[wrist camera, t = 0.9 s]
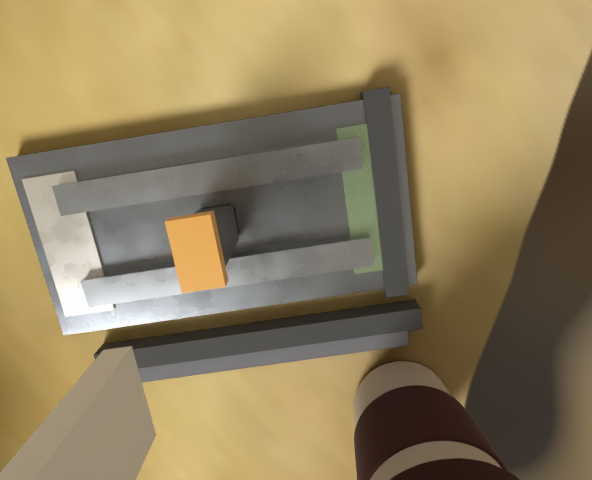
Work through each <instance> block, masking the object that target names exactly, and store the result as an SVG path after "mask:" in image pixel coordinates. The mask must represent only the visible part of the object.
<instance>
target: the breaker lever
mask: <svg viewBox="0 0 592 480" xmlns="http://www.w3.org/2000/svg"><path fill="white" fill-rule="evenodd" d="M165 226H166V230H167V234H168V238H169V242H170V246H171V251H172V255H173V259H174V263H175V267H176V271H177V276H178V280H179V284H180V288H181V292H182V293H188V292H195V291H202V290H208V289H215V288H222V287H226V285H227V283H228V276H227V271H226V265H227V263H228V261H229V259H230V257H231V255H232V253H233V251H234V249H235V247H236V245H237V243H238V240H239V235H238V229H237V224H236V219H235V214H234V209H233V205H226V206H220V207H213V208H207V209H200V210H197V211H196V212H195V213H194V214H189V215H183V216H176V217H170V218H169V219H167V220H166V221H165Z"/></svg>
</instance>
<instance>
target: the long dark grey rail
mask: <svg viewBox="0 0 592 480" xmlns="http://www.w3.org/2000/svg"><path fill="white" fill-rule="evenodd" d="M417 329H423V326H422V315H421V308H420V306H419V305H418V303H417V302H416V300H409V301H402V302H395V303H388V304H381V305H374V306H367V307H360V308H353V309H346V310H339V311H332V312H325V313H318V314H311V315H304V316H297V317H290V318H283V319H276V320H269V321H262V322H255V323H248V324H241V325H234V326H227V327H220V328H213V329H206V330H199V331H192V332H185V333H178V334H171V335H164V336H157V337H150V338H143V339H136V340H129V341H122V342H115V343H108V344H103V345H102V346H101V347H100V348H99V349H98V351H97V352H96V353H95V354H94V358H95V359H96V358H97V357H98V356H99V355H100V353H101V352H102V351H103V350H107V349H114V348H121V347H129V346H132V349H133V352H134V356H135V360H136V363H137V367H138V371H139V374H140V378H141V382H148V381H155V380H163V379H170V378H177V377H184V376H191V375H199V374H206V373H213V372H220V371H227V370H235V369H242V368H249V367H256V366H264V365H271V364H278V363H285V362H292V361H300V360H307V359H314V358H321V357H328V356H336V355H343V354H350V353H357V352H365V351H372V350H379V349H386V348H393V347H401V346H408V345H409V338H408V331H410V330H417Z"/></svg>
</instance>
